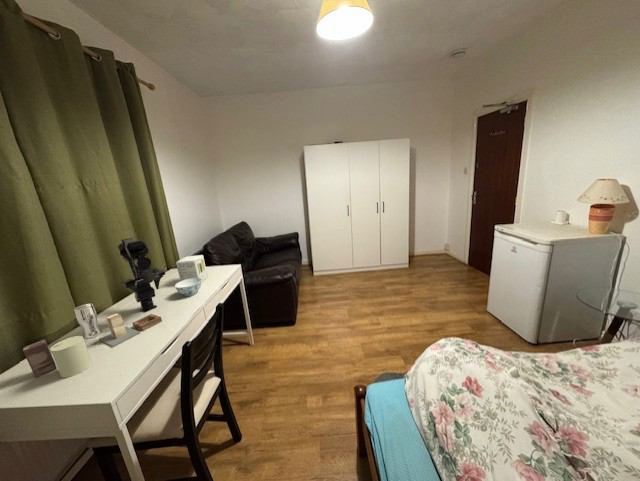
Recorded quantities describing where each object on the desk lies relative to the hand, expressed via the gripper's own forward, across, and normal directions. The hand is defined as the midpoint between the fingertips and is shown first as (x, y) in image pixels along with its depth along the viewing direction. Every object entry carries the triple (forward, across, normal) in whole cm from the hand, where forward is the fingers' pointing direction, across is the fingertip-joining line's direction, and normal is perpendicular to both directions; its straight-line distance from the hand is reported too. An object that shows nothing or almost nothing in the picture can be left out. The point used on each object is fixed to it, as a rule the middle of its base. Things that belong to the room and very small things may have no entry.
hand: (148, 293), depth 134 cm
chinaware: (+13, +25, +6) cm, 29 cm away
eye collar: (+13, -7, -7) cm, 16 cm away
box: (+13, -43, -4) cm, 45 cm away
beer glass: (+13, -23, +10) cm, 29 cm away
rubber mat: (+13, -18, -6) cm, 23 cm away
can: (+13, -36, -15) cm, 42 cm away
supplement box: (+14, +39, +23) cm, 48 cm away
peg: (+12, -18, -6) cm, 23 cm away
